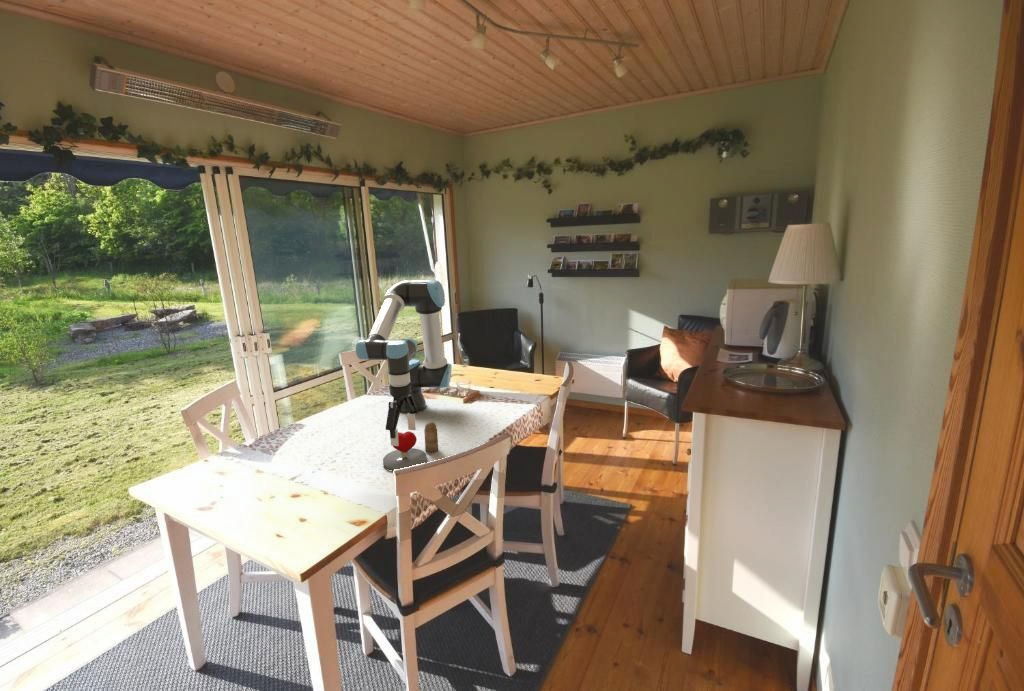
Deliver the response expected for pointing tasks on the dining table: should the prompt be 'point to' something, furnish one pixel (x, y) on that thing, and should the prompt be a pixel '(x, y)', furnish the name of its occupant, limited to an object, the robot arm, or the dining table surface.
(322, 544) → the dining table surface
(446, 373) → the robot arm
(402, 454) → the red heart
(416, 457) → the disc
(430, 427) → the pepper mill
